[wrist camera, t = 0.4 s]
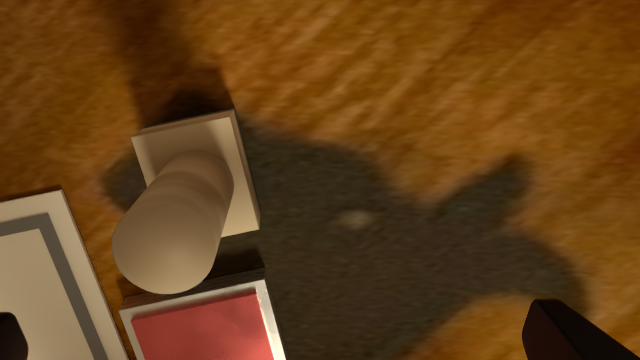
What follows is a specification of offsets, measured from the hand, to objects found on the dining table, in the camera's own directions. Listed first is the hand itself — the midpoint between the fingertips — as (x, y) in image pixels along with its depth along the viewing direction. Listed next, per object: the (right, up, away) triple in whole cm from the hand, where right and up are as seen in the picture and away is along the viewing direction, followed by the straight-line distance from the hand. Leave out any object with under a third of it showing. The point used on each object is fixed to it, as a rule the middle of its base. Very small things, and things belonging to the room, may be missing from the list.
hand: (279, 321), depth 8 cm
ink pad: (-5, -7, +17) cm, 19 cm away
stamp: (-5, +3, +14) cm, 15 cm away
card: (-15, -4, +15) cm, 21 cm away
